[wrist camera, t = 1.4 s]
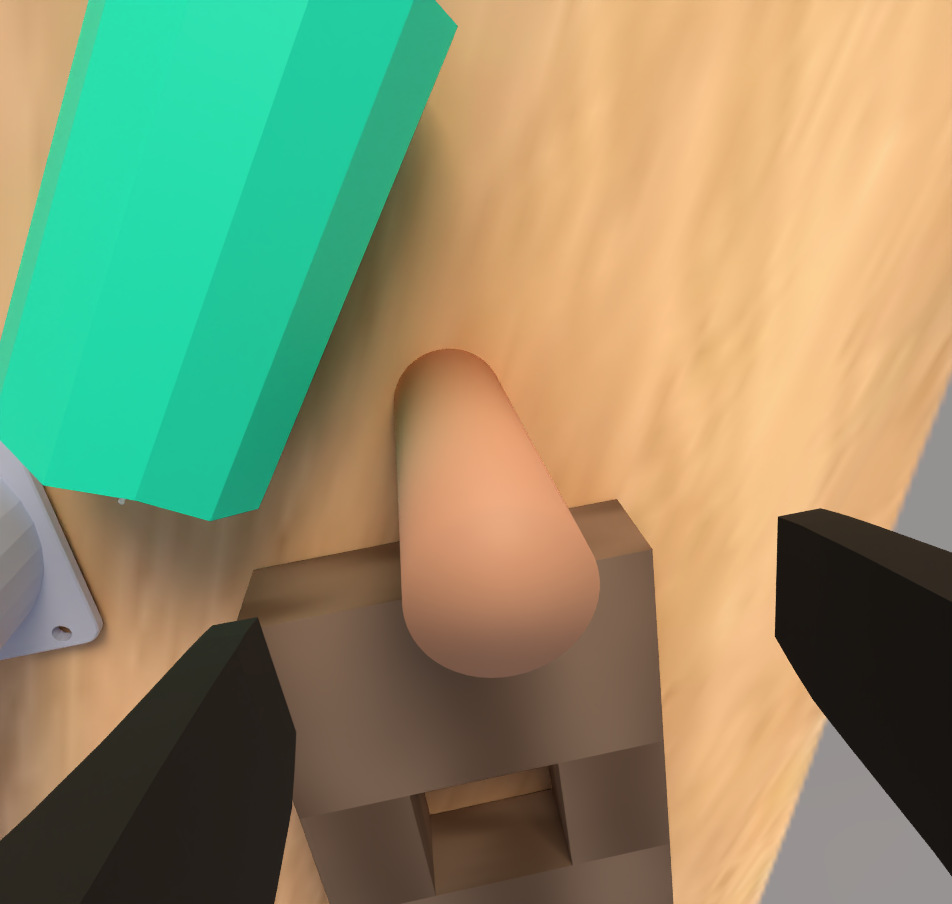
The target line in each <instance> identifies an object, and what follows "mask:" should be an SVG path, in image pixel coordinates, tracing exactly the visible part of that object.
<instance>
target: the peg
mask: <svg viewBox="0 0 952 904" xmlns="http://www.w3.org/2000/svg"><path fill="white" fill-rule="evenodd" d="M394 414H395V439H396V464H397V489H398V514H399V539H400V564H401V588H402V608H403V615H404V619H405V622H406V625H407V628H408V630H409V632H410V634H411V636H412V638H413V639H414V641H415V642H416V644H417V645H418V646H419V647H420V649H421V650H422V651H423V652H424V653H425V654H426V655H427V656H429V657H430V658H431V659H433V660H434V661H435V662H437V663H438V664H440V665H442V666H444V667H445V668H448V669H450V670H452V671H455V672H458V673H461V674H464V675H468V676H474V677H482V678H502V677H509V676H516V675H519V674H523V673H527V672H530V671H532V670H535V669H538V668H540V667H542V666H544V665H546V664H548V663H550V662H552V661H553V660H555V659H556V658H558V657H559V656H561V655H562V654H563V653H564V652H566V651H567V650H568V649H569V648H570V647H571V646H572V645H573V644H574V643H575V642H576V641H577V640H578V639H579V638H580V637H581V635H582V634H583V633H584V631H585V630H586V628H587V627H588V625H589V623H590V622H591V620H592V617H593V615H594V613H595V610H596V607H597V603H598V600H599V592H600V577H599V571H598V566H597V563H596V560H595V557H594V555H593V553H592V551H591V549H590V548H589V546H588V544H587V542H586V540H585V538H584V537H583V535H582V533H581V531H580V529H579V527H578V525H577V524H576V522H575V520H574V518H573V516H572V514H571V513H570V511H569V509H568V507H567V505H566V503H565V502H564V500H563V498H562V496H561V494H560V492H559V491H558V489H557V487H556V485H555V483H554V481H553V479H552V478H551V476H550V474H549V472H548V470H547V468H546V467H545V465H544V463H543V461H542V459H541V457H540V456H539V454H538V452H537V450H536V448H535V446H534V445H533V443H532V441H531V439H530V437H529V435H528V434H527V432H526V430H525V428H524V426H523V424H522V422H521V421H520V419H519V417H518V415H517V413H516V411H515V410H514V408H513V406H512V404H511V402H510V400H509V399H508V397H507V395H506V393H505V391H504V389H503V388H502V386H501V384H500V382H499V380H498V378H497V376H496V375H495V373H494V372H493V370H492V369H491V368H490V366H489V365H488V364H487V363H486V362H484V361H483V360H482V359H481V358H479V357H477V356H476V355H474V354H471V353H469V352H466V351H463V350H457V349H442V350H436V351H432V352H430V353H427V354H425V355H423V356H421V357H419V358H418V359H417V360H415V361H414V362H413V363H412V364H411V365H409V366H408V367H407V369H406V370H405V371H404V372H403V374H402V376H401V377H400V379H399V381H398V384H397V387H396V390H395V396H394Z"/></svg>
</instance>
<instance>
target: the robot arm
mask: <svg viewBox="0 0 952 904" xmlns="http://www.w3.org/2000/svg"><path fill="white" fill-rule="evenodd" d="M58 626H64V627H67V628H69V630H70V631H71V632H72V633H66V632H63V631H61V630H60V628H59V627H58ZM102 627H103V622H102V618H101V616H100V614H99V612H98V609H97V607H96V605H95V603H94V600H93V598H92V596H91V594H90V591H89V589H88V587H87V585H86V582H85V580H84V578H83V576H82V573H81V571H80V569H79V567H78V564H77V562H76V560H75V558H74V555H73V553H72V551H71V549H70V546H69V544H68V542H67V540H66V537H65V535H64V533H63V531H62V528H61V526H60V524H59V522H58V519H57V517H56V515H55V513H54V510H53V508H52V506H51V504H50V501H49V499H48V497H47V495H46V492H45V490H44V488H43V486H42V484H41V483H40V482H39V481H38V479H37V478H36V477H35V476H34V475H33V474H32V473H31V472H30V471H29V470H28V469H27V468H26V467H25V466H24V465H23V464H22V463H21V462H20V461H19V460H18V458H17V457H16V456H15V455H14V454H13V453H12V452H11V451H10V450H9V449H8V448H7V447H6V446H5V445H4V444H3V443H2V442H1V441H0V660H4V659H9V658H14V657H19V656H25V655H30V654H35V653H40V652H45V651H50V650H55V649H60V648H65V647H70V646H75V645H80V644H85V643H89V642H91V641H93V640H94V639H95V638H96V637H97V636H98V635H99V633H100V632H101V630H102ZM775 637H776V639H777V641H778V643H779V644H780V646H781V648H782V650H783V651H784V653H785V655H786V656H787V658H788V660H789V662H790V663H791V665H792V667H793V668H794V670H795V672H796V673H797V675H798V677H799V678H800V680H801V681H802V683H803V685H804V686H805V688H806V689H807V691H808V693H809V694H810V696H811V697H812V699H813V700H814V702H815V703H816V704H817V706H818V707H819V708H820V710H821V711H822V712H823V713H824V715H825V716H826V717H827V719H828V720H829V721H830V722H831V724H832V725H833V726H834V727H835V729H836V730H837V731H838V733H839V734H840V735H841V736H842V738H843V739H844V740H845V741H846V743H847V744H848V745H849V747H850V748H851V749H852V750H853V752H854V753H855V754H856V755H857V756H858V758H859V759H860V760H861V761H862V763H863V764H864V765H865V767H866V768H867V769H868V770H869V771H870V773H871V774H872V775H873V777H874V778H875V779H876V780H877V781H878V783H879V784H880V785H881V787H882V788H883V789H884V790H885V792H886V793H887V794H888V795H889V797H890V798H891V799H892V800H893V801H894V803H895V804H896V805H897V806H898V808H899V809H900V810H901V812H902V813H903V814H904V815H905V817H906V818H907V819H908V820H909V821H910V823H911V824H912V825H913V827H914V828H915V829H916V830H917V832H918V833H919V834H920V835H921V837H922V838H923V839H924V840H925V842H926V843H927V844H928V845H929V847H930V848H931V849H932V850H933V852H934V853H935V854H936V856H937V857H938V858H939V860H940V861H941V862H942V864H943V865H944V866H945V868H946V869H947V870H948V872H949V873H950V875H951V876H952V553H951V552H949V551H946V550H943V549H940V548H937V547H935V546H932V545H929V544H926V543H923V542H921V541H918V540H915V539H912V538H909V537H907V536H904V535H901V534H898V533H896V532H893V531H890V530H887V529H885V528H882V527H879V526H876V525H873V524H870V523H867V522H864V521H861V520H858V519H855V518H852V517H849V516H846V515H843V514H839V513H836V512H832V511H829V510H825V509H821V508H820V509H815V510H810V511H805V512H799V513H794V514H789V515H784V516H779V517H778V534H777V574H776V614H775ZM295 752H296V730H295V727H294V724H293V721H292V718H291V715H290V712H289V709H288V706H287V703H286V700H285V697H284V694H283V691H282V688H281V685H280V682H279V679H278V676H277V673H276V670H275V667H274V664H273V661H272V658H271V655H270V652H269V649H268V646H267V643H266V640H265V637H264V634H263V631H262V628H261V625H260V622H259V619H258V617H254V618H249V619H244V620H239V621H234V622H229V623H223V624H218V625H213V626H211V627H210V628H209V629H208V630H207V631H206V632H205V633H204V634H203V635H202V636H201V637H200V638H199V639H198V640H197V641H196V642H195V643H194V644H193V645H192V646H191V647H190V648H189V649H188V650H187V652H186V653H185V654H184V655H183V656H182V657H181V658H180V659H179V660H178V661H177V662H176V663H175V664H174V666H173V667H172V668H171V669H170V670H169V671H168V672H167V673H166V674H165V675H164V676H163V677H162V679H161V680H160V681H159V682H158V683H157V684H156V685H155V686H154V687H153V688H152V689H151V690H150V692H149V693H148V694H147V695H146V696H145V697H144V698H143V699H142V700H141V701H140V702H139V703H138V704H137V705H136V706H135V708H134V709H133V710H132V711H131V712H130V713H129V714H128V715H127V716H126V717H125V718H124V719H123V720H122V721H121V722H120V723H119V725H118V726H117V727H116V728H115V729H114V730H113V731H112V732H111V733H110V734H109V735H108V736H107V737H106V738H105V739H104V740H103V741H102V742H101V744H100V745H99V746H98V747H97V748H96V749H94V750H93V751H92V752H91V753H90V754H89V755H88V756H87V757H86V758H85V759H84V760H83V761H82V762H81V763H80V764H79V765H78V766H77V767H76V768H75V769H74V770H73V771H72V772H71V773H70V774H69V775H68V776H67V777H66V778H65V779H64V780H63V781H62V782H61V783H60V784H59V785H58V786H57V787H56V788H55V789H54V790H53V791H52V792H51V793H50V794H49V795H48V796H47V797H46V798H45V799H44V800H43V801H42V802H41V803H40V804H39V805H38V806H37V807H36V808H35V809H34V810H33V811H32V812H31V813H30V814H29V815H28V816H27V817H26V818H24V819H23V820H22V821H21V822H20V823H19V824H18V825H17V826H16V827H15V828H14V829H13V830H12V831H10V832H9V833H8V834H7V835H6V836H5V837H4V838H3V839H2V840H1V841H0V904H274V902H275V897H276V891H277V886H278V881H279V876H280V870H281V865H282V859H283V854H284V848H285V843H286V838H287V832H288V827H289V821H290V815H291V809H292V799H293V785H294V772H295Z"/></svg>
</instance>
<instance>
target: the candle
mask: <svg viewBox="0 0 952 904" xmlns="http://www.w3.org/2000/svg"><path fill="white" fill-rule="evenodd" d="M457 27H458V26H457V25H456V24H455V22H454V21H453V20H452V19H451V18H450V17H449V16H448V14H447V13H446V12H445V11H444V10H443V9H442V8H441V6H440V5H439V4H438V3H437V2H436V1H435V0H89V1H88V5H87V9H86V13H85V17H84V21H83V24H82V28H81V32H80V36H79V40H78V44H77V48H76V51H75V55H74V59H73V63H72V67H71V71H70V74H69V78H68V82H67V86H66V90H65V94H64V98H63V101H62V105H61V109H60V113H59V117H58V121H57V125H56V128H55V132H54V136H53V140H52V144H51V148H50V152H49V155H48V159H47V163H46V167H45V171H44V175H43V179H42V182H41V186H40V190H39V194H38V198H37V202H36V206H35V209H34V213H33V217H32V221H31V225H30V229H29V233H28V236H27V240H26V244H25V248H24V252H23V256H22V260H21V263H20V267H19V271H18V275H17V279H16V283H15V287H14V290H13V294H12V298H11V302H10V306H9V310H8V314H7V317H6V321H5V325H4V329H3V333H2V337H1V340H0V441H1V442H2V443H3V444H4V445H5V446H6V447H7V448H8V449H9V450H10V451H11V452H12V453H13V454H14V455H15V456H16V457H17V458H18V460H19V461H20V462H21V463H22V464H23V465H24V466H25V467H26V468H27V469H28V470H29V471H30V472H31V473H32V474H33V475H34V476H35V477H36V478H37V479H38V481H39V482H40V483H41V484H42V485H44V486H50V487H56V488H62V489H69V490H75V491H81V492H87V493H93V494H99V495H105V496H111V497H117V498H119V500H118V503H119V504H122V505H123V504H125V501H126V499H129V500H135V501H139V502H142V503H146V504H150V505H153V506H157V507H160V508H164V509H168V510H171V511H175V512H179V513H182V514H186V515H189V516H193V517H197V518H200V519H204V520H208V521H213V520H217V519H221V518H225V517H229V516H232V515H236V514H240V513H244V512H248V511H252V510H256V509H259V506H260V504H261V502H262V499H263V497H264V495H265V492H266V490H267V488H268V485H269V483H270V481H271V478H272V476H273V473H274V471H275V469H276V466H277V464H278V461H279V459H280V457H281V454H282V452H283V449H284V447H285V444H286V442H287V440H288V437H289V435H290V432H291V430H292V427H293V425H294V423H295V420H296V418H297V415H298V413H299V411H300V408H301V406H302V403H303V401H304V398H305V396H306V394H307V391H308V389H309V386H310V384H311V381H312V379H313V377H314V374H315V372H316V369H317V367H318V365H319V362H320V360H321V357H322V355H323V352H324V350H325V348H326V345H327V343H328V340H329V338H330V335H331V333H332V331H333V328H334V326H335V323H336V321H337V319H338V316H339V314H340V311H341V309H342V306H343V304H344V302H345V299H346V297H347V294H348V292H349V289H350V287H351V285H352V282H353V280H354V277H355V275H356V273H357V270H358V268H359V265H360V263H361V260H362V258H363V256H364V253H365V251H366V248H367V246H368V243H369V241H370V239H371V236H372V234H373V231H374V229H375V227H376V224H377V222H378V219H379V217H380V214H381V212H382V210H383V207H384V205H385V202H386V200H387V197H388V195H389V193H390V190H391V188H392V185H393V183H394V181H395V178H396V176H397V173H398V171H399V168H400V166H401V164H402V161H403V159H404V156H405V154H406V151H407V149H408V147H409V144H410V142H411V139H412V137H413V135H414V132H415V130H416V127H417V125H418V122H419V120H420V118H421V115H422V113H423V110H424V108H425V105H426V103H427V101H428V98H429V96H430V93H431V91H432V89H433V86H434V84H435V81H436V79H437V76H438V74H439V72H440V69H441V67H442V64H443V62H444V59H445V57H446V55H447V52H448V50H449V47H450V45H451V43H452V40H453V37H454V35H455V32H456V29H457Z"/></svg>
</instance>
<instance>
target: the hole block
mask: <svg viewBox="0 0 952 904" xmlns="http://www.w3.org/2000/svg"><path fill="white" fill-rule="evenodd" d="M569 511H570V513H571V514H572V516H573V518H574V520H575V522H576V524H577V525H578V527H579V529H580V531H581V533H582V535H583V537H584V538H585V540H586V542H587V544H588V546H589V548H590V549H591V551H592V553H593V555H594V557H595V560H596V563H597V566H598V571H599V577H600V592H599V600H598V603H597V607H596V610H595V613H594V615H593V617H592V620H591V622H590V623H589V625H588V627H587V628H586V630H585V631H584V633H583V634H582V635H581V637H580V638H579V639H578V640H577V641H576V642H575V643H574V644H573V645H572V646H571V647H570V648H569V649H568V650H567V651H566V652H564V653H563V654H562V655H561V656H559V657H558V658H556V659H555V660H553V661H552V662H550V663H548V664H546V665H544V666H542V667H540V668H538V669H535V670H532V671H530V672H527V673H523V674H519V675H516V676H509V677H502V678H482V677H474V676H468V675H464V674H461V673H458V672H455V671H452V670H450V669H448V668H445V667H444V666H442V665H440V664H438V663H437V662H435V661H434V660H433V659H431V658H430V657H429V656H427V655H426V654H425V653H424V652H423V651H422V650H421V649H420V647H419V646H418V645H417V644H416V642H415V641H414V639H413V638H412V636H411V634H410V632H409V630H408V628H407V625H406V622H405V619H404V615H403V608H402V588H401V564H400V542H395V543H390V544H385V545H380V546H374V547H369V548H364V549H359V550H354V551H349V552H344V553H339V554H333V555H328V556H323V557H318V558H313V559H308V560H303V561H298V562H292V563H287V564H282V565H277V566H272V567H267V568H262V569H257V570H254V571H253V574H252V577H251V580H250V583H249V586H248V589H247V592H246V595H245V598H244V601H243V604H242V607H241V610H240V613H239V616H238V620H237V621H239V620H244V619H249V618H254V617H258V619H259V622H260V625H261V628H262V631H263V634H264V637H265V640H266V643H267V646H268V649H269V652H270V655H271V658H272V661H273V664H274V667H275V670H276V673H277V676H278V679H279V682H280V685H281V688H282V691H283V694H284V697H285V700H286V703H287V706H288V709H289V712H290V715H291V718H292V721H293V724H294V727H295V730H296V752H295V772H294V785H293V802H294V805H295V808H296V811H297V813H298V816H299V819H300V822H301V825H302V827H303V830H304V833H305V836H306V839H307V841H308V844H309V847H310V850H311V853H312V855H313V858H314V861H315V864H316V867H317V869H318V872H319V875H320V878H321V881H322V883H323V886H324V889H325V892H326V895H327V897H328V900H329V903H330V904H673V890H672V873H671V856H670V840H669V823H668V806H667V789H666V772H665V755H664V739H663V722H662V705H661V688H660V671H659V654H658V638H657V621H656V604H655V587H654V570H653V553H652V548H651V547H650V545H649V544H648V543H647V541H646V540H645V538H644V537H643V535H642V534H641V533H640V531H639V530H638V528H637V527H636V526H635V524H634V523H633V521H632V520H631V518H630V517H629V516H628V514H627V513H626V511H625V510H624V509H623V507H622V506H621V504H620V503H619V501H618V500H617V499H615V500H610V501H605V502H600V503H595V504H590V505H585V506H580V507H574V508H569ZM544 766H549V772H550V779H551V785H552V789H550V790H545V791H541V792H536V793H531V794H527V795H522V796H518V797H513V798H508V799H504V800H499V801H495V802H490V803H485V804H481V805H476V806H472V807H467V808H462V809H458V810H453V811H449V812H444V813H439V814H435V815H430V813H429V809H428V805H427V801H426V797H425V793H424V792H428V791H433V790H438V789H442V788H447V787H452V786H456V785H461V784H465V783H470V782H475V781H479V780H484V779H489V778H493V777H498V776H503V775H507V774H512V773H517V772H521V771H526V770H531V769H535V768H540V767H544Z"/></svg>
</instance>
